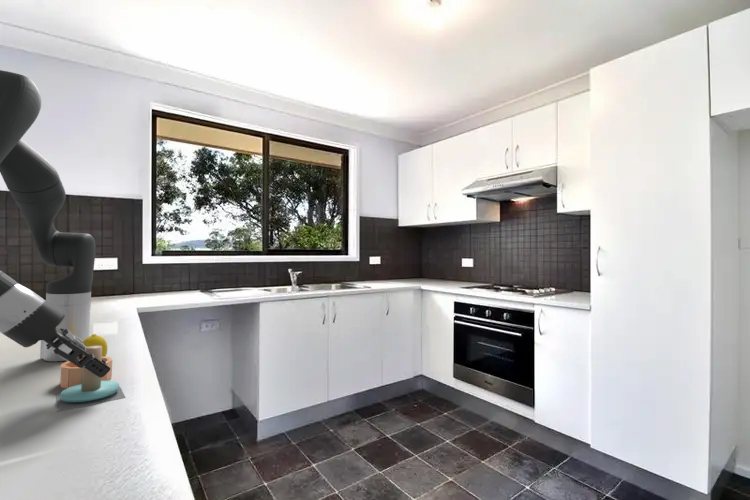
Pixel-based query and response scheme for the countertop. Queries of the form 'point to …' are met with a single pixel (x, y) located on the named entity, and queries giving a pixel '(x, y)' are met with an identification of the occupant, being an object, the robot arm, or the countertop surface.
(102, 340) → the lemon
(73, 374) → the bowl
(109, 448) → the countertop surface
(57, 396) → the mat
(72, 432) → the countertop surface
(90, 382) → the lid
